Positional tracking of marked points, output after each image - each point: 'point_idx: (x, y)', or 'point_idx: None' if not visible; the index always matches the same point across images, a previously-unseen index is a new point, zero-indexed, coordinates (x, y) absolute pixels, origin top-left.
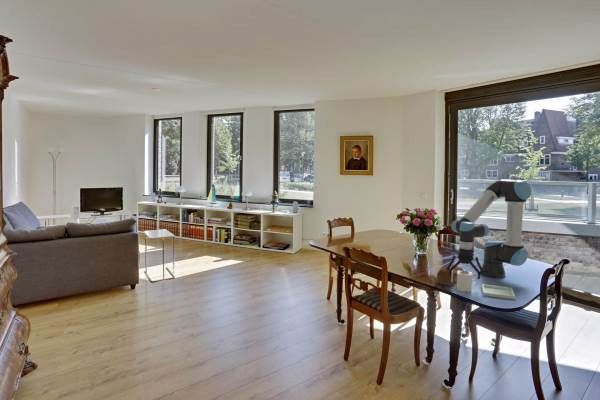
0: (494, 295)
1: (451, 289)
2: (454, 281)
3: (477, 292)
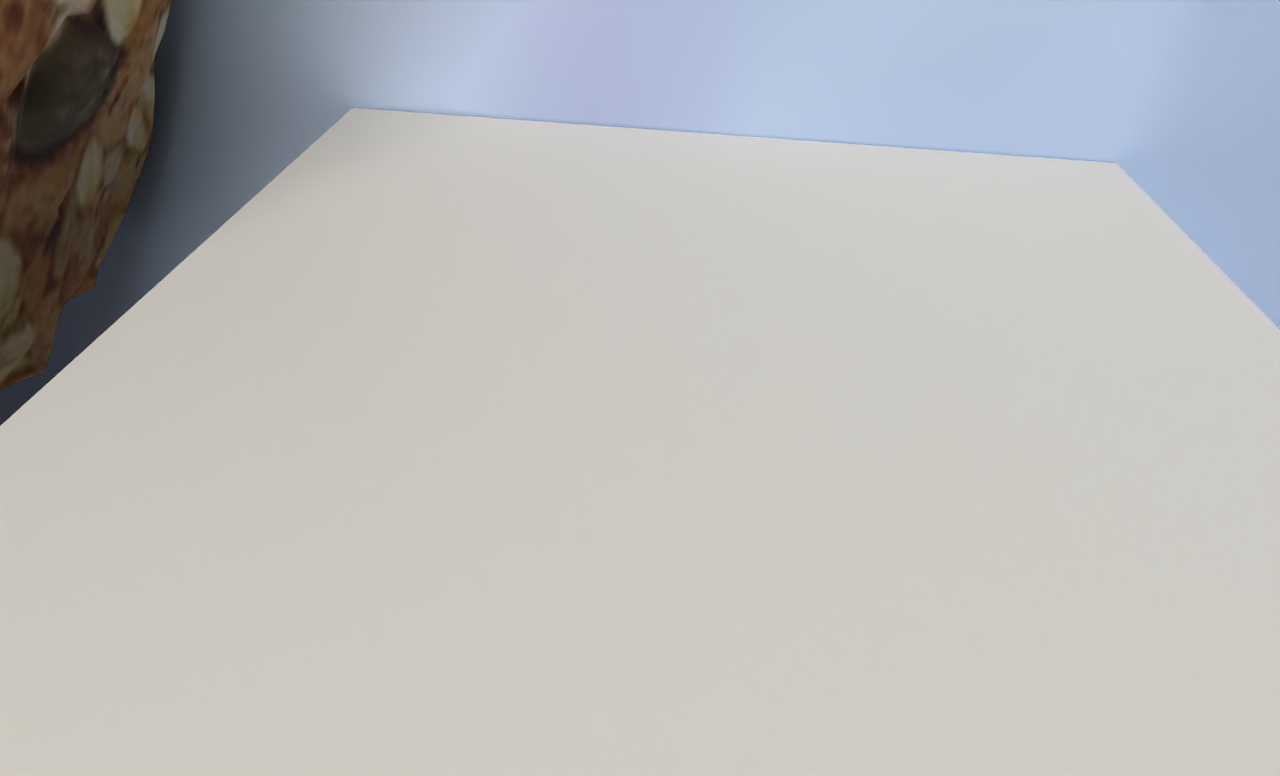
0: None
1: None
2: (91, 91)
3: None
